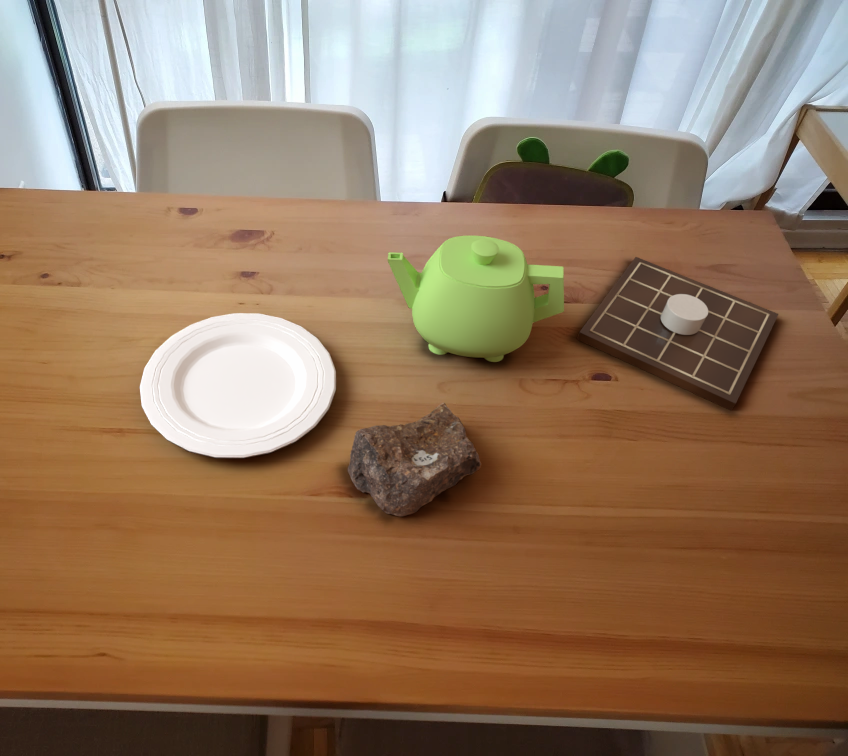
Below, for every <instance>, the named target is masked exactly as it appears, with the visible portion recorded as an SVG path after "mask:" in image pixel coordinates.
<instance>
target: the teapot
mask: <svg viewBox="0 0 848 756" xmlns="http://www.w3.org/2000/svg"><path fill="white" fill-rule="evenodd" d="M387 263H388V265H389V267H390V270H391V273H392V275H393V276H394V278H395V281H396V283H397V286H398V288H399V290H400V292H401V294H402V296H403V298H404V301H405V303H406V305H407V307H408V308H409V309H411V316H412V322H413V325H414V327H415V330H416V331H417V332H418V334H419V335H420V336H421V337H422V339H423V340H424V341H425V342H426V343H427V344H428V349H429V351H430V352H431V353H433V354H434V355H438V356H439V355H440V356H442V355H445V354H447V353H450V354H452V355H456V356H462V357H467V358H484V359H485V361H488V362H491V363H497V362H500V361H503V359H504V357H505V355H507V354H509V353H512V352H514V351H516V350H517V349H519V348H520V347H522V346H523V345H524V344H526V341H527V340H528V339H529V337H530V335H531V331H532V328H533V323H536V322H539V321H542V320H544V319H545V320H546V319H548V318H550V317H554V316H557V315H558V314H562V313H565V277H564V275H565V274H564V273H565V272H564V270H565V269H564V266H561V265H542V264H528V261H527V259H526V256H525V254H524V252H523V250H522V249H521V248H520V247H518V246H517V245H515V244H514V243H512V242H509V241H507V240H503V239H500V238H496V237H493V236H492V237H491V236H484V235H483V236H482V235H458V236H453V237H450V238H448V239H446V240H445V241H444V242H442V244H441V245H440V246H438V248H437V249H436V250H435V251H434V252H433V254H432V255H431V256H430V258H429V259H428V260H427V262H425V265H424V267H423V268H422V270H421V271H418V270H417V269H416V268H415V267H414V265H412V263H411V262H410V261H409V260H408V258H406V257H405V255H404V252H395V251H394V252H392V251H391V252H390V251H389V252H388V253H387ZM534 285H548V293H545V294H541V295H539V296H535V288H534V287H535V286H534Z"/></svg>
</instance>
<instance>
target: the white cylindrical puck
mask: <svg viewBox="0 0 848 756" xmlns="http://www.w3.org/2000/svg"><path fill="white" fill-rule="evenodd" d="M707 315H708V308H707V306H706V305H705V303H703V302H702V301H701V300H700V299H698V298H696V297H694V296H691V295H686V294H676V295H673V296H671V297H670V298H669V299H668V301H667V303H666V305H665V307H664V309H663V312H662V314H661V321H662V323H663V325H664V326H665V327H666V328H668V329H669V330H671V331H673V332H675V333H678V334H682V335H692V334H695V333H697V332H698V331H699V330H700V328H701V327H702V325H703V323H704V321H705V319H706V317H707Z"/></svg>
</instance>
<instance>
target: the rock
mask: <svg viewBox="0 0 848 756" xmlns="http://www.w3.org/2000/svg"><path fill="white" fill-rule="evenodd" d="M353 438H354V439H353V443H352V447H351V450H350V454H349V457H350V459H349V465H348V466H347V473H348V474H349V477H350V480H351V481H352V483H353V485H354V486H355V488H356V489H357V490H358V491H360V492H362V493H367V494H369V495H370V497H371V498H372V500H373V501H374V502H375V505H377V506H378V507H379V508H380V509H381V510H382V511H383V513H385V514H387V515H393V516H396V517H405V516H408V515H412V514H415V513H417V512H418V511H419V510H420V508H422V507H423V506H425V505H427V504H428V503H430V502H432V501H433V500H434V498H436V497H437V496H438V495H440V494H441V493H442V492H445V491H446V490H448V489H450V488H452V487H453V486H456V484H457V483H458V482H459V481H461V480H463V479H464V477H466V476H468V475H469V476H470V475H473V474H474V473H476V472H477V471H478V470H480V469H481V467H482V463H481V460H480V456H479V455H480V454H479V453H478V452H477V449H476V448H475V446H474V443H473V442H472V441H471V440H470V439H469V438H468V436H467V433H466V428H465V427H464V424H463V422H462V421H461V419H460V417H458V416H457V415H456V414H454V413H453V412H452V409H450V407H448V406H447V404H446V403H445V402H441V403H440V404H439V405H438V406H437V407H435V408H434V409H433V410H432V411H431V412H430V413H428V414H426V415H424V416H422V417H421V418H420V419H418V420H416V421H413V422H409V423H405V424H403V423H402V424H397V425H385V424H381V425H372V426H370V427H364V428H359V429H358V430H357V431H355V434H354V437H353Z"/></svg>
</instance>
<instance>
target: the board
mask: <svg viewBox="0 0 848 756" xmlns="http://www.w3.org/2000/svg"><path fill="white" fill-rule="evenodd" d="M676 294H686V295H691V296H694V297H696V298H698V299H700V300H701V301H702V302H703V303H705V305H706V306H707V308H708V315H707V317H706V319H705V321H704V323H703V325H702V327H701V328H700V330H699V331H698V332H697V333H695V334H692V335H682V334H678V333H675V332H673V331H671V330H669V329H668V328H666V327H665V326H664V325H663V323H662V321H661V314H662V312H663V309H664V307H665V305H666V303H667V301H668V299H669V298H670V297H671V296H673V295H676ZM778 317H779V313H778V312H775V311H772V310H770V309H768V308H765V307H762V306H760V305H757V304H755V303H753V302H750V301H747V300H745V299H742V298H741V297H738V296H736V295H732V294H729V292H728V293H727V292H725V291H723V290H720V289H718V288H715V287H713V286H710V285H707V284H705V283H702V282H700V281H698V280H695V279H693V278H690V277H688V276H685V275H682V274H681V273H678V272H675V271H673V270H670V269H667V268H665V267H663V266H660V265H658V264H655V263H652V262H650V261H647V260H646V259H643V258H640V257H638V256H635V257H634V258H633V260H632V261H631V262H630V264H629V265H628V266H627V268H626V269H625V270H624V271H623V273H622V274H621V276H620V277H619V278H618V279H617V281H616V282H615V284H614V285H613V286H612V288H611V289H610V290H609V292H608V293H607V294H606V296H605V297H604V299H602V301H601V302H600V304H599V305H598V307H597V308H596V309H595V310H594V311H593V312H592V314H591V316H590V317H589V319H588V320H587V321H586V322H585V324H584V325H583V326H582V328H580V329H581V330H579V332H578V334H577V337H576V340H577V341H579V342H582V343H584V344H586V345H588V346H590V347H593V348H595V349H597V350H599V351H601V352H604V353H606V354H608V355H610V356H612V357H613V358H614V357H615V358H616V359H618V360H621V361H623V362H625V363H627V364H629V365H632V366H633V367H636V368H638V369H641V370H643V371H645V372H647V373H649V374H651V375H654V376H655V377H657V378H660V379H662V380H664V381H666V382H669V383H670V384H673V385H675V386H677V387H679V388H681V389H683V390H685V391H687V392H690V393H693V394H694V395H696V396H699V397H701V398H703V399H705V400H707V401H709V402H712V403H714V404H716V405H718V406H721V407H722V408H725V409H727V410H729V411H732V410H733V408H734V407H735V406H736V404H737V403H738V399H739V397H740V396H741V394H742V392H743V389H744V388H745V386H746V383H747V382H748V380H749V377H750V375H751V373H752V370H753V368H754V367H755V364H756V363H757V360H758V358H759V356H760V354H761V352H762V350H763V348H764V346H765V344H766V342H767V339H768V338H769V335H770V333H771V332H772V329H773V326H774V325H775V323H776V321H777V318H778Z"/></svg>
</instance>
